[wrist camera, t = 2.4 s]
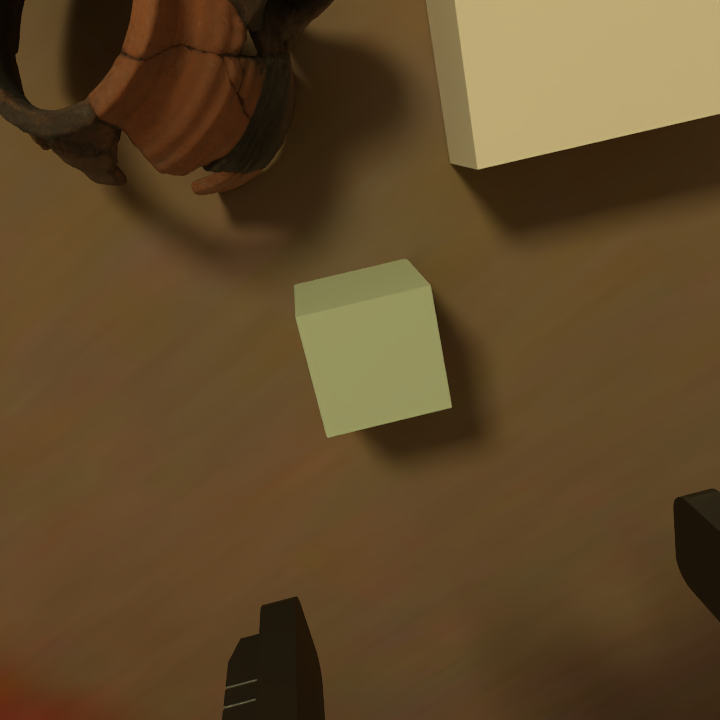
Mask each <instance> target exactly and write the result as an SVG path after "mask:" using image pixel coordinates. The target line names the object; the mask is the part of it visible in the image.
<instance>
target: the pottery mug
mask: <svg viewBox="0 0 720 720" xmlns="http://www.w3.org/2000/svg"><path fill="white" fill-rule="evenodd" d="M24 1H25V0H0V114H1V115H2V117H3V118H4V119H6V120H7V121H8V122H10V123H12V124H13V125H15V126H17V127H18V128H19V129H21V130H22V131H23V132H26V133H28V134H29V135H30V136H31V138H32V139H33V140H34V141H35V142H36V143H37V144H38V145H40V147H41V148H42V149H43V150H49V149H50V148H51V149H52V150H53V152H54V153H56V154H57V155H58V156H59V157H60V158H61V159H62V160H63V161H64V162H65V163H67V164H68V165H70V166H72V167H74V168H77V169H79V170H81V171H82V172H83V173H85V175H86V176H88V177H89V178H90V179H91V180H92V181H94V182H96V183H99V184H107V185H116V186H119V185H124V184H125V183H126V182H127V180H126V176H125V174H124V173H123V172H122V171H121V170H120V169H119V168H118V167H117V166H116V164H117V144H118V141H119V139H120V134H121V131H124V132H125V133H126V134H127V135H128V137H129V139H130V140H131V142H132V143H133V144H134V146H135V147H137V148H138V149H139V150H140V151H141V152H142V154H143V155H144V157H145V158H146V159H147V160H148V161H149V162H150V163H151V164H152V165H153V167H154V168H155V169H156V170H157V171H158V172H160V173H162V174H165V173H166V174H171V175H180V176H184V175H187V174H189V173H190V172H192V171H194V170H196V169H197V168H199V167H201V166H202V167H203V168H204V169H205V170H206V171H212V172H215V173H213V174H211V175H209V176H207V177H204V178H202V179H199V180H196V181H194V182H192V184H191V187H192V190H193V192H194V193H195V194H198V195H207V194H212V193H216V192H226V191H229V190H232V189H235V188H237V187H239V186H241V185H243V184H245V183H247V182H248V181H250V180H251V179H252V178H253V177H255V176H256V175H257V174H259V173H260V172H261V170H262V169H264V168H265V167H266V166H267V165H268V164H269V163H270V162H271V160H272V159H273V158H274V156H275V155H276V153H277V152H278V150H279V149H280V148H281V146H282V144H283V142H284V139H285V137H286V134H287V132H288V129H289V127H290V124H291V120H292V117H293V112H294V95H295V88H294V73H293V71H292V67H291V60H290V53H289V51H291V50H292V49H293V47H294V45H295V42H296V40H297V39H298V37H299V35H300V34H301V33H302V32H303V30H304V29H305V28H306V27H307V26H308V24H309V23H310V22H311V21H312V20H313V19H315V18H316V17H318V16H319V15H320V14H321V13H322V12H323V11H324V10H325V9H326V8H327V7H328V6H329V5H330V4H331V3H332V2H333V1H334V0H133V5H132V12H131V18H130V23H129V27H128V30H127V34H126V37H125V40H124V43H123V47H122V52H121V54H120V55H119V56H118V57H117V59H116V60H115V62H114V64H113V66H112V68H111V69H110V71H109V72H108V73H107V75H106V76H105V77H104V79H103V80H102V81H101V82H100V83H99V84H98V86H97V87H96V88H95V89H94V90H93V91H92V92H91V93H90V94H89V95H88V97H87V99H86V100H84V101H81V102H78V103H75V104H73V105H71V106H69V107H66V108H63V109H59V110H43V109H39V108H37V107H35V106H33V105H32V104H31V103H30V102H29V101H28V100H27V99H26V97H25V95H24V92H23V88H22V83H21V79H20V75H19V70H18V66H17V63H16V57H15V54H16V53H17V52H18V48H19V39H20V24H21V15H22V10H23V6H24ZM247 29H248V30H249V33H250V36H251V38H252V40H253V43H254V45H255V48H256V50H257V52H258V54H257V55H256V56H246V55H241V49H242V47H243V46H244V44H245V42H246V39H247Z"/></svg>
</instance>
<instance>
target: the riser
mask: <svg viewBox="0 0 720 720" xmlns="http://www.w3.org/2000/svg"><path fill="white" fill-rule="evenodd" d="M426 5H427V12H428V18H429V25H430V32H431V38H432V45H433V52H434V58H435V65H436V71H437V78H438V85H439V91H440V98H441V105H442V111H443V118H444V125H445V131H446V138H447V144H448V151H449V158H450V163H451V164H456V165H460V166H464V167H468V168H473V169H477V170H478V169H483V168H487V167H491V166H496V165H500V164H504V163H509V162H513V161H517V160H522V159H526V158H530V157H535V156H539V155H543V154H548V153H552V152H556V151H561V150H565V149H569V148H574V147H578V146H582V145H587V144H591V143H595V142H600V141H604V140H608V139H612V138H617V137H621V136H625V135H630V134H634V133H638V132H643V131H647V130H651V129H656V128H660V127H664V126H669V125H673V124H677V123H682V122H686V121H690V120H695V119H699V118H703V117H708V116H712V115H716V114H720V0H426Z"/></svg>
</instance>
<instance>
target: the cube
mask: <svg viewBox="0 0 720 720" xmlns="http://www.w3.org/2000/svg"><path fill="white" fill-rule="evenodd" d="M294 294H295V316H296V321H297V325H298V329H299V332H300V336H301V340H302V344H303V348H304V351H305V355H306V359H307V363H308V367H309V371H310V374H311V378H312V382H313V386H314V390H315V393H316V397H317V401H318V405H319V409H320V412H321V416H322V420H323V424H324V428H325V432H326V435H327V438H328V437H332V436H336V435H341V434H345V433H349V432H353V431H357V430H361V429H365V428H370V427H374V426H378V425H382V424H386V423H390V422H394V421H398V420H403V419H407V418H411V417H415V416H419V415H423V414H427V413H432V412H436V411H440V410H444V409H448V408H452V404H451V398H450V393H449V387H448V381H447V376H446V370H445V364H444V358H443V353H442V347H441V341H440V336H439V330H438V324H437V318H436V313H435V307H434V301H433V296H432V290H431V285H430V284H429V283H428V282H427V281H426V280H425V278H424V277H423V276H422V275H421V274H420V273H419V272H418V271H417V270H416V268H415V267H414V266H413V265H412V264H411V263H410V262H409V261H408V260H407V259H402V260H398V261H394V262H390V263H385V264H381V265H377V266H373V267H368V268H364V269H360V270H356V271H351V272H347V273H343V274H339V275H334V276H330V277H326V278H321V279H317V280H313V281H309V282H304V283H300V284H296V285H294Z"/></svg>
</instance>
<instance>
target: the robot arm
mask: <svg viewBox="0 0 720 720" xmlns="http://www.w3.org/2000/svg"><path fill="white" fill-rule="evenodd" d="M673 508H674V528H675V547H676V559H677V564H678V567H679V570H680V572H681V574H682V576H683V578H684V580H685V582H686V583H687V585H688V586H689V588H690V589H691V590H692V591H693V592H694V593H695V594H696V596H697V597H698V598H699V599H700V600H701V601H702V602H703V604H704V605H705V606H706V607H707V608H708V609H709V610H710V612H711V613H712V614H713V615H714V616H715V617H716V618H717V619H718V621H719V622H720V492H719V491H718V490H716V489H708V490H704V491H700V492H696V493H693V494H689V495H685V496H681V497H678V498H676V499H675V501H674V507H673ZM222 720H325V713H324V698H323V684H322V676H321V669H320V664H319V660H318V656H317V652H316V649H315V646H314V643H313V640H312V637H311V634H310V631H309V628H308V625H307V622H306V619H305V616H304V613H303V610H302V607H301V604H300V601H299V599H298V597H292V598H288V599H285V600H281V601H277V602H273V603H269V604H266V605H262V606H261V611H260V629H259V634H257V635H253V636H249V637H245V638H241V639H240V641H239V643H238V645H237V647H236V648H235V650H234V652H233V654H232V656H231V658H230V660H229V662H228V669H227V679H226V690H225V697H224V710H223V716H222Z"/></svg>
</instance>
